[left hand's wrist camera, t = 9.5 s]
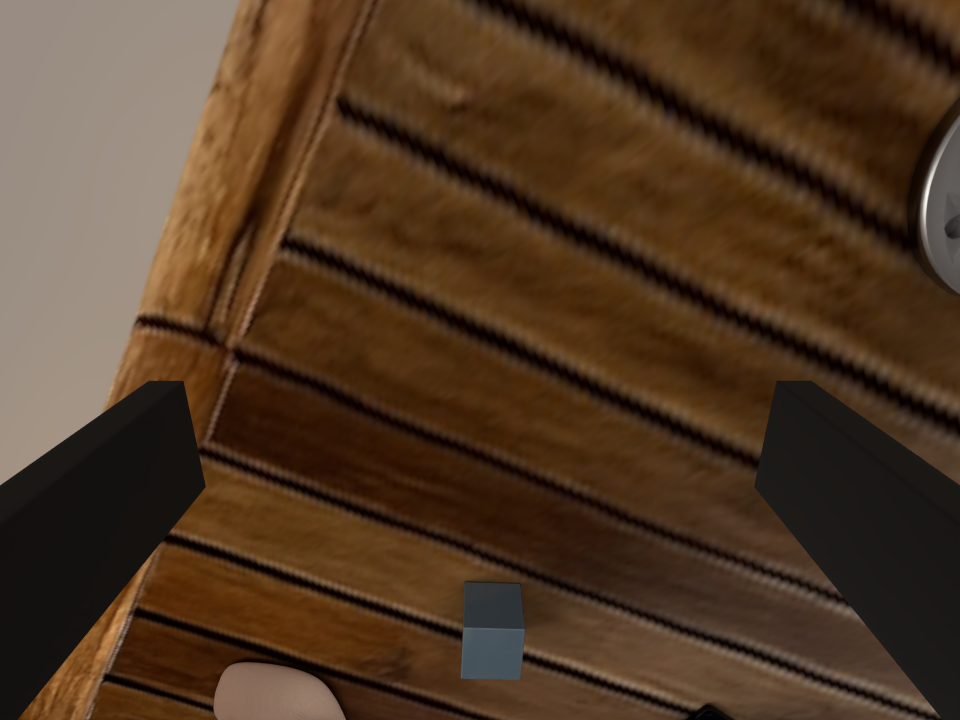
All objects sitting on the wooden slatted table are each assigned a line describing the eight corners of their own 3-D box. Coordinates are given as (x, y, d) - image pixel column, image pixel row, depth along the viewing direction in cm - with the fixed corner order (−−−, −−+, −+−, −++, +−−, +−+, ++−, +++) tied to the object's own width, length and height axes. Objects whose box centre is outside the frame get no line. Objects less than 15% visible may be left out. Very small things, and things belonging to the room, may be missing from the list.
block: (520, 583, 44) (525, 629, 40) (515, 631, 46) (520, 680, 42) (464, 581, 44) (463, 627, 40) (461, 629, 46) (460, 679, 42)
